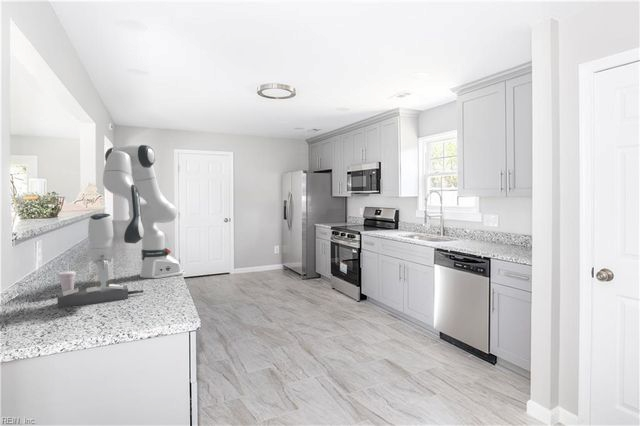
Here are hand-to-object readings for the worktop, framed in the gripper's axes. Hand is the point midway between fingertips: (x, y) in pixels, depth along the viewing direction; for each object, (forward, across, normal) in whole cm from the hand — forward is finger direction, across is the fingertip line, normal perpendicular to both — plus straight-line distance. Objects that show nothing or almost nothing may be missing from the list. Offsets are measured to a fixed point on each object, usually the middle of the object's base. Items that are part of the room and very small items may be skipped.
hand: (103, 287), depth 149 cm
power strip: (+6, +2, 0) cm, 6 cm away
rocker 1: (+1, +1, +11) cm, 11 cm away
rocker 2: (+2, 0, +3) cm, 4 cm away
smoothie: (+6, +19, +13) cm, 24 cm away
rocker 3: (+2, 0, -4) cm, 4 cm away
